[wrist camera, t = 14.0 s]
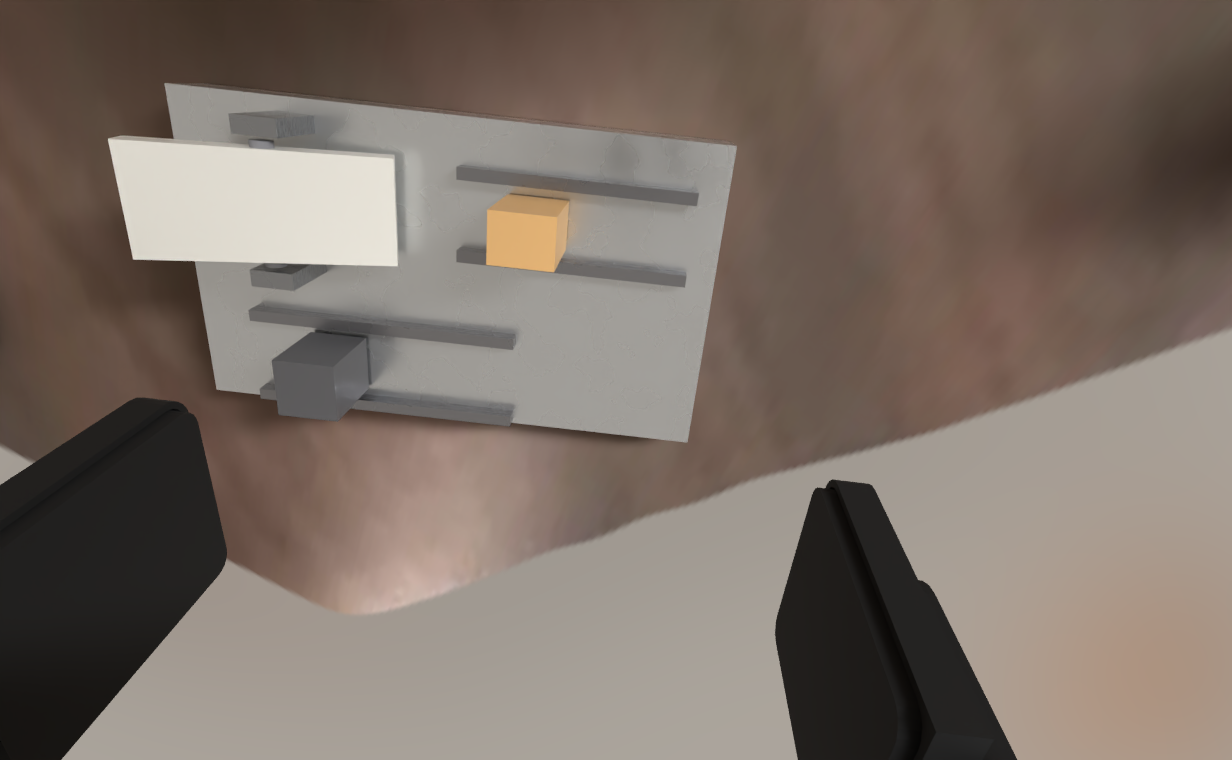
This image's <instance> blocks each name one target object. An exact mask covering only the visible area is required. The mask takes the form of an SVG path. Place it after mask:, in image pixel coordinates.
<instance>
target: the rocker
mask: <svg viewBox="0 0 1232 760" xmlns="http://www.w3.org/2000/svg"><path fill="white" fill-rule="evenodd" d="M108 142H109V147H110V151H111V156H112V161H113V166H114V170H115V175H116V180H117V185H118V189H119V194H120V199H121V204H122V208H123V213H124V218H125V223H126V227H127V232H128V237H129V242H130V246H131V251H132V256H133V259H134V260H172V261H211V262H249V263H264V266H265V267H267V268H283V267H286V266H288V264H326V265H365V266H398V234H397V208H396V182H395V156H394V155H391V154H376V153H362V152H348V151H334V150H320V149H306V148H292V147H278V146H274V141H273V140H269V139H248V144H236V143H222V142H208V141H194V140H180V139H166V138H152V137H138V136H124V135H121V136H117V137H113V138H109V139H108ZM287 263H288V264H287Z"/></svg>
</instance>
